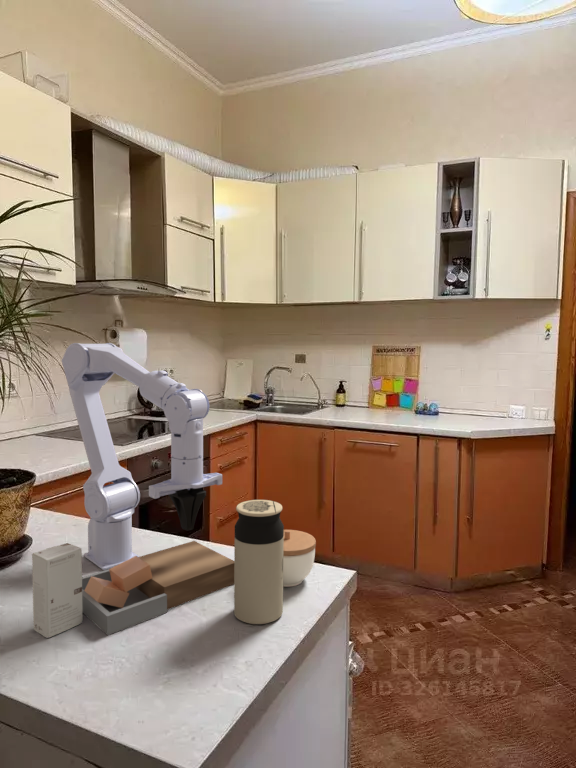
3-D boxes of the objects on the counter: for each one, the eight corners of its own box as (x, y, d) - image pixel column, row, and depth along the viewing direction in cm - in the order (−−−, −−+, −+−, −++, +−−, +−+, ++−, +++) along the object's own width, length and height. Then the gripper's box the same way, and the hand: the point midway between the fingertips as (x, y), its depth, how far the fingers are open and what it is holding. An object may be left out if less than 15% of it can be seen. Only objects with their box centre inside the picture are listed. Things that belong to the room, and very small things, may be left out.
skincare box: (48, 639, 79) (46, 560, 78) (31, 630, 82) (29, 553, 81) (84, 622, 84) (83, 547, 83) (68, 613, 87) (67, 541, 86)
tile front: (116, 582, 92) (109, 597, 92) (91, 576, 89) (84, 591, 89) (129, 593, 89) (122, 608, 88) (104, 586, 86) (96, 601, 85)
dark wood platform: (125, 582, 98) (124, 561, 98) (194, 559, 109) (194, 540, 108) (164, 610, 88) (164, 587, 88) (236, 583, 99) (236, 562, 98)
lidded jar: (247, 584, 98) (247, 534, 97) (275, 563, 108) (276, 517, 107) (299, 598, 93) (300, 546, 92) (324, 574, 103) (325, 527, 102)
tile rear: (112, 582, 92) (109, 569, 91) (138, 568, 95) (135, 555, 94) (125, 592, 88) (122, 579, 87) (152, 577, 91) (149, 564, 91)
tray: (67, 598, 92) (67, 581, 92) (123, 580, 99) (122, 564, 99) (107, 635, 81) (107, 616, 80) (167, 612, 88) (166, 594, 87)
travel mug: (230, 625, 84) (231, 513, 83) (237, 600, 92) (238, 498, 91) (281, 627, 84) (282, 514, 82) (284, 602, 92) (285, 499, 90)
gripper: (163, 466, 90) (163, 544, 91) (232, 454, 100) (231, 525, 101) (142, 458, 95) (143, 533, 96) (210, 448, 105) (210, 516, 106)
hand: (187, 528), depth 99 cm, fingers closed
